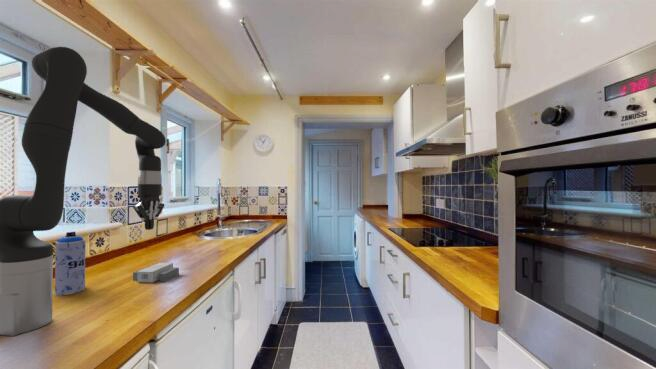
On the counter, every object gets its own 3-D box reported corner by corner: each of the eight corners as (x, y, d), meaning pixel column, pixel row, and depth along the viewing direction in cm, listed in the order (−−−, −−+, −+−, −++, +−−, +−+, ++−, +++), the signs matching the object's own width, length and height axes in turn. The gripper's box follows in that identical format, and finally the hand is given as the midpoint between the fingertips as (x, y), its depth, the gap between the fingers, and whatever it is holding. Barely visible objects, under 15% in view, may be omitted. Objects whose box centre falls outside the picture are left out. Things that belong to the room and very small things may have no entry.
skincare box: (152, 283, 100) (173, 273, 112) (152, 271, 100) (173, 262, 112) (136, 282, 101) (159, 272, 113) (136, 271, 101) (159, 262, 113)
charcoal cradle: (164, 282, 102) (164, 273, 102) (132, 280, 103) (133, 272, 103) (178, 275, 109) (178, 267, 110) (149, 273, 111) (149, 266, 111)
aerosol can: (63, 296, 88) (63, 234, 88) (48, 293, 90) (49, 233, 91) (91, 288, 95) (91, 230, 95) (76, 285, 98) (77, 229, 98)
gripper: (145, 182, 96) (144, 232, 95) (171, 183, 109) (170, 227, 109) (125, 182, 97) (125, 231, 96) (154, 183, 110) (153, 226, 110)
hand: (149, 229), depth 102 cm, fingers closed
